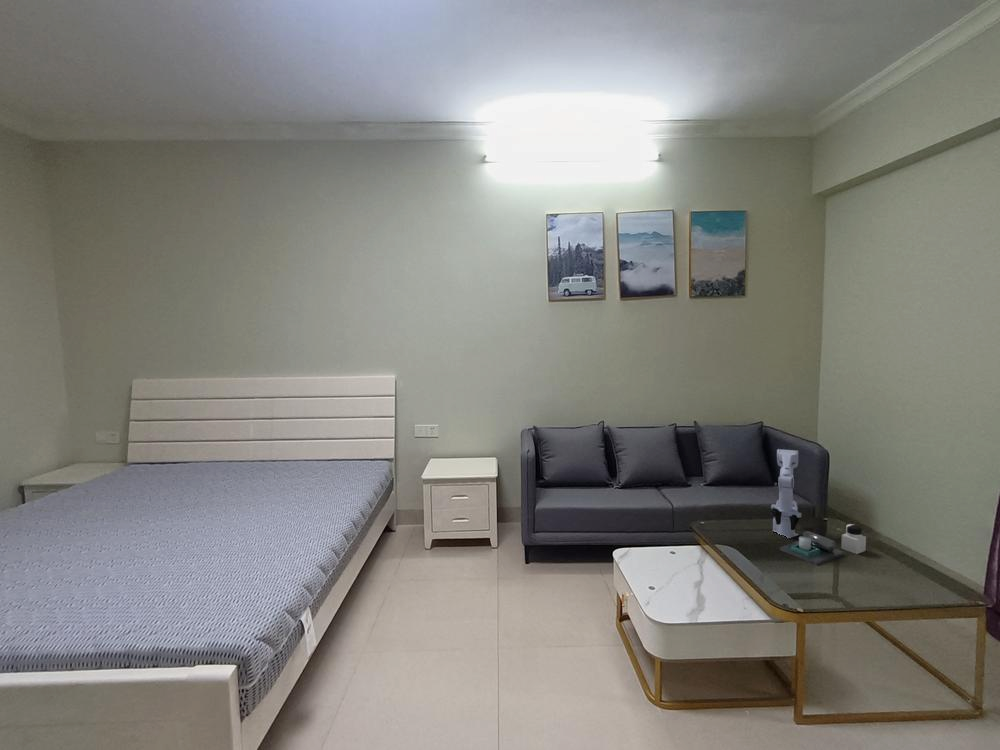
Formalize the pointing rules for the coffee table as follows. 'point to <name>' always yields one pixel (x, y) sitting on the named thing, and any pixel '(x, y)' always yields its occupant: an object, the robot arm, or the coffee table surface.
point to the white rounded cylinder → (805, 543)
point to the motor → (814, 549)
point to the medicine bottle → (854, 539)
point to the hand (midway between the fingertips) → (785, 526)
